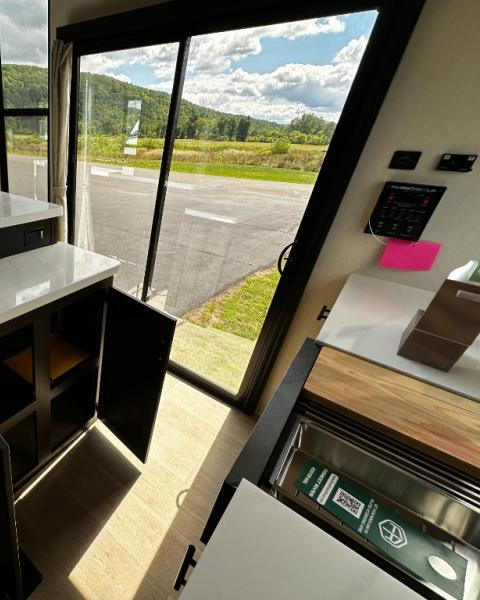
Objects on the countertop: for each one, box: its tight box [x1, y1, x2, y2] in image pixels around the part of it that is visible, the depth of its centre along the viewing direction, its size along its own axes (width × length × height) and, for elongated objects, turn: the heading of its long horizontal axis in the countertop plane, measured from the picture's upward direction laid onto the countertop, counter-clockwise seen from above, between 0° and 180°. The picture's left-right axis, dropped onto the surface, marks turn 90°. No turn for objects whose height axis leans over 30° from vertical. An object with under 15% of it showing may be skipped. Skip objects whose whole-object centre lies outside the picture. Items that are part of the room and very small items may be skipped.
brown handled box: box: [414, 277, 480, 347], centre depth 84 cm, size 16×11×5 cm
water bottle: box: [447, 259, 480, 286], centre depth 101 cm, size 9×6×25 cm
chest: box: [396, 308, 470, 374], centre depth 96 cm, size 15×11×10 cm
